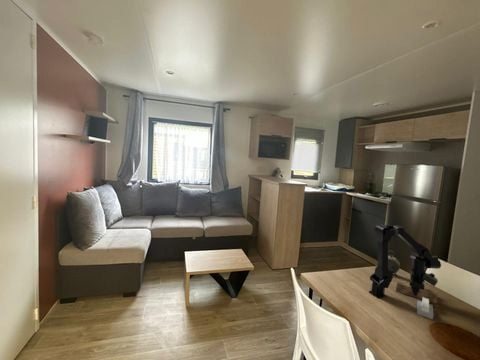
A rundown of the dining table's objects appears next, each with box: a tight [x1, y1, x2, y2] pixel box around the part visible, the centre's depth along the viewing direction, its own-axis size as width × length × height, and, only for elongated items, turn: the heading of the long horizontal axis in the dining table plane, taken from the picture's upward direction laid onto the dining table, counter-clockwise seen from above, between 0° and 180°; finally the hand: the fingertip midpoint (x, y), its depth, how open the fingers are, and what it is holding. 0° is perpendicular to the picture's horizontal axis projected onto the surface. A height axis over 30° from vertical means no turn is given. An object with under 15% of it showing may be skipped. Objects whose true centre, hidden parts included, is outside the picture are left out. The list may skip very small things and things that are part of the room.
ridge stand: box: [416, 297, 435, 320], centre depth 112 cm, size 6×10×5 cm, turn 141°
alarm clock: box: [388, 250, 401, 276], centre depth 151 cm, size 11×5×16 cm, turn 46°
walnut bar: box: [395, 280, 438, 304], centre depth 126 cm, size 18×4×5 cm, turn 56°
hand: (415, 293), depth 126 cm, fingers closed on walnut bar, 4 cm apart
